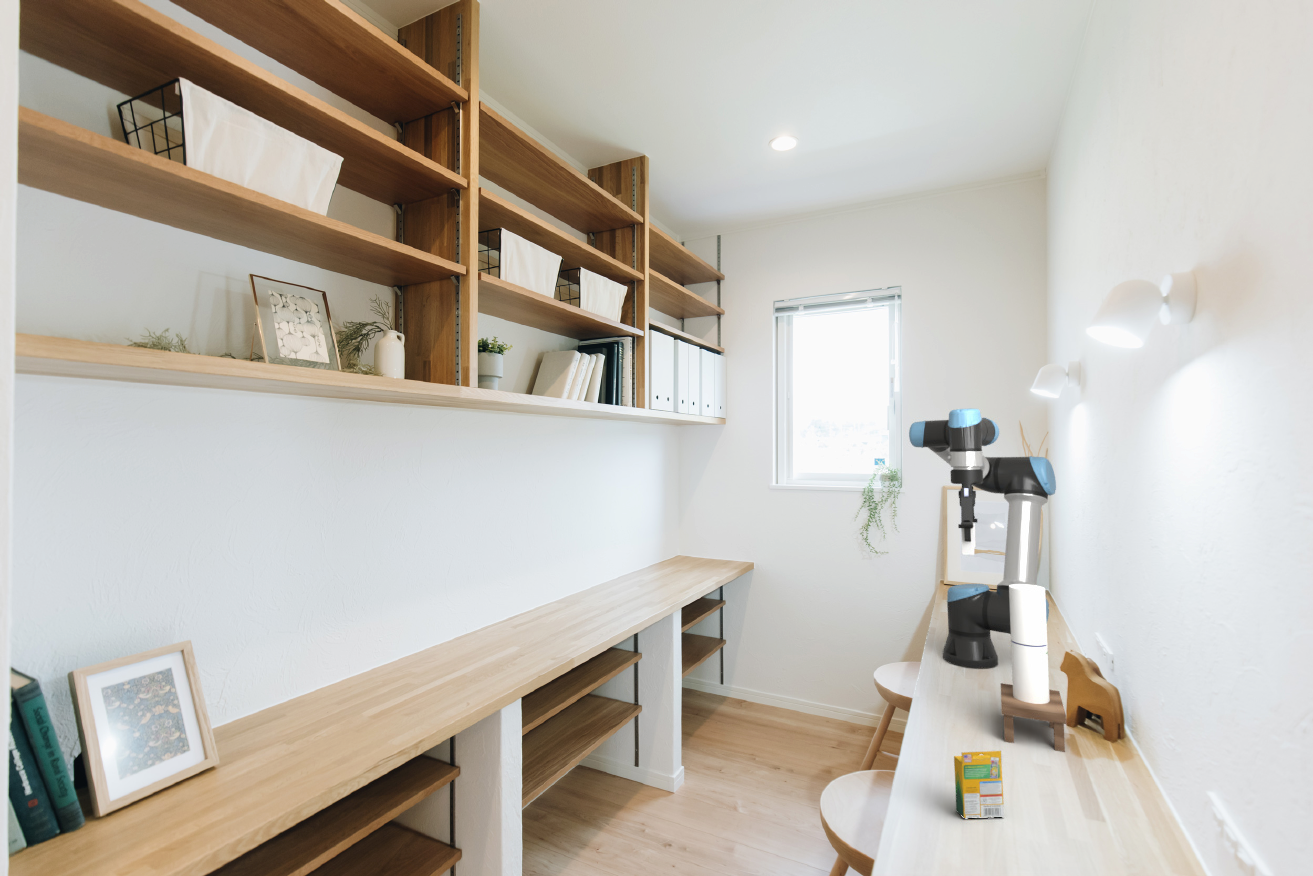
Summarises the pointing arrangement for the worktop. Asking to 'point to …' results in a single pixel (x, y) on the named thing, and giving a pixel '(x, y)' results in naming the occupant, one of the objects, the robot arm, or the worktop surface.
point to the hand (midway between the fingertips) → (969, 551)
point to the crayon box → (979, 784)
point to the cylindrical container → (1029, 643)
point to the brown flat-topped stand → (1034, 714)
